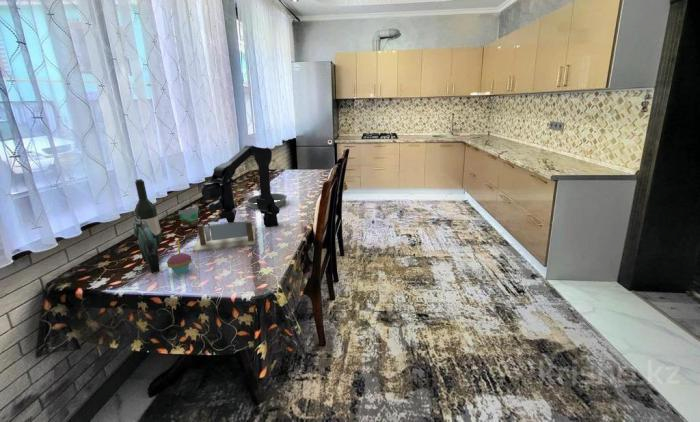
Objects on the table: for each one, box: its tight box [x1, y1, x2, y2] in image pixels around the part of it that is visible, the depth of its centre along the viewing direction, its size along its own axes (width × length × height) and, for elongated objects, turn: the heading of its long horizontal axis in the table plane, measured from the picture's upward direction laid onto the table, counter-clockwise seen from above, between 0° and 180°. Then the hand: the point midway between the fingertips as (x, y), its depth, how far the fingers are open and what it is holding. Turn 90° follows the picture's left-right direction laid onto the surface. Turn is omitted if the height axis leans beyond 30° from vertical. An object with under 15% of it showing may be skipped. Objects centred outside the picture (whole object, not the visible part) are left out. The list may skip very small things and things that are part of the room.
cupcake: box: [166, 240, 192, 275], centre depth 133 cm, size 9×8×12 cm
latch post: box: [245, 219, 254, 241], centre depth 160 cm, size 3×3×9 cm
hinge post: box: [196, 223, 206, 245], centre depth 157 cm, size 2×2×9 cm
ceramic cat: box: [132, 216, 161, 274], centre depth 139 cm, size 20×6×20 cm, turn 37°
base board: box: [192, 225, 257, 253], centre depth 166 cm, size 26×24×1 cm
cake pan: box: [246, 193, 288, 211], centre depth 222 cm, size 25×25×4 cm
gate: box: [203, 220, 247, 241], centre depth 159 cm, size 18×2×7 cm, turn 104°
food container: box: [177, 203, 200, 229], centre depth 187 cm, size 12×6×10 cm, turn 168°
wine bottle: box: [134, 178, 163, 245], centre depth 162 cm, size 8×8×30 cm
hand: (231, 227), depth 162 cm, fingers closed
